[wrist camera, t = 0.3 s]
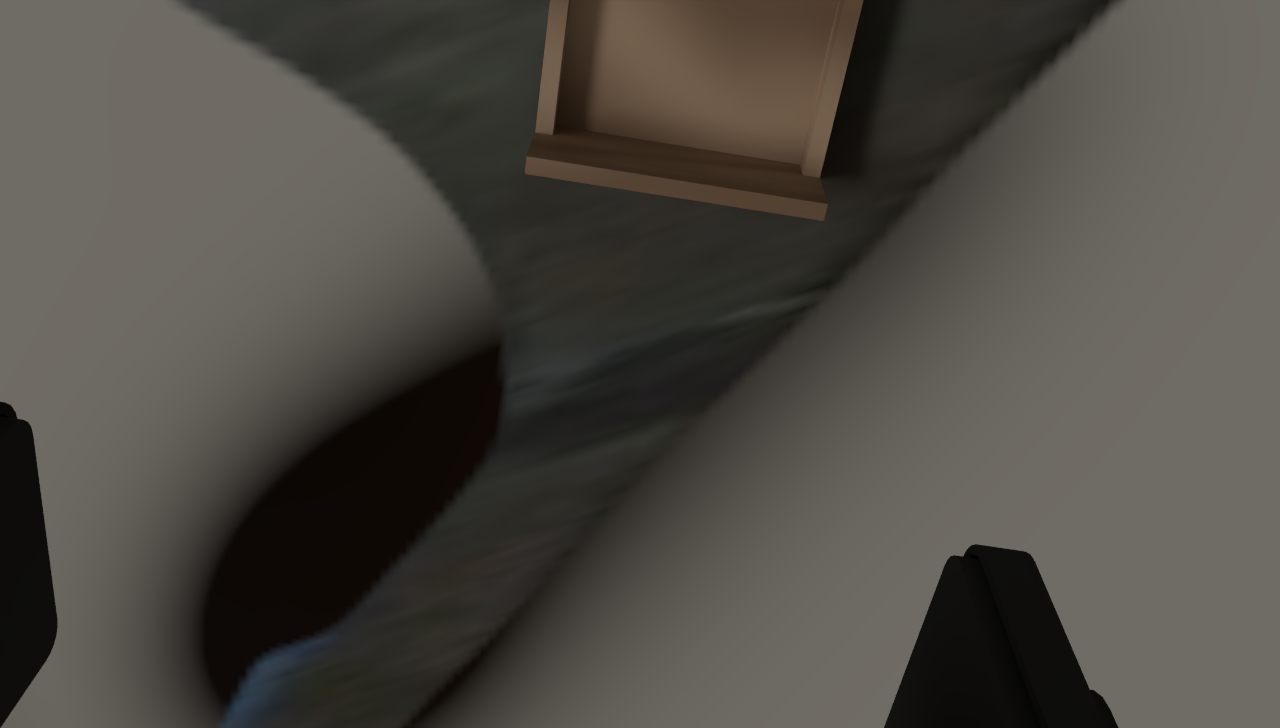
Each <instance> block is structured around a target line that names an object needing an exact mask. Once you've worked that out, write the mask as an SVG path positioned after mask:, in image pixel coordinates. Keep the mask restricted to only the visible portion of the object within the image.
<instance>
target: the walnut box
mask: <svg viewBox="0 0 1280 728" xmlns="http://www.w3.org/2000/svg"><path fill="white" fill-rule="evenodd" d="M862 4H863V0H550V6H549V15H548V24H547V33H546V42H545V51H544V60H543V68H542V77H541V86H540V95H539V104H538V113H537V122H536V131H535V135H534V137H533V140H532V143H531V146H530V149H529V151H528V154H527V158H526V168H525V174H530V175H536V176H542V177H549V178H555V179H561V180H568V181H574V182H580V183H587V184H593V185H599V186H606V187H612V188H618V189H625V190H631V191H637V192H644V193H650V194H656V195H663V196H669V197H675V198H682V199H688V200H694V201H701V202H707V203H713V204H720V205H726V206H732V207H739V208H745V209H751V210H758V211H764V212H770V213H777V214H783V215H789V216H796V217H802V218H808V219H815V220H821V221H824V218H825V214H826V210H827V206H828V202H827V199H826V196H825V193H824V190H823V187H822V183H821V180H820V175H821V171H822V167H823V163H824V159H825V155H826V151H827V147H828V143H829V138H830V134H831V130H832V126H833V122H834V118H835V114H836V110H837V106H838V102H839V98H840V94H841V90H842V86H843V82H844V78H845V73H846V69H847V65H848V61H849V57H850V53H851V49H852V45H853V41H854V37H855V33H856V29H857V25H858V21H859V17H860V13H861V9H862Z"/></svg>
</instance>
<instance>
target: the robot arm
mask: <svg viewBox="0 0 1280 728" xmlns="http://www.w3.org/2000/svg"><path fill="white" fill-rule="evenodd" d="M56 634H57V613H56V606H55V598H54V591H53V584H52V576H51V568H50V560H49V553H48V545H47V537H46V530H45V522H44V515H43V507H42V499H41V492H40V484H39V477H38V469H37V461H36V453H35V446H34V438H33V433H32V428H31V426H30V425H29V423H28V422H26V421H25V420H20V419H17V416H16V412H15V411H14V410H13V408H12V406H11V405H9V404H7V403H5V402H0V727H1V726H2V725H3V723H4V722H5V720H6V719H7V717H8V716H9V714H10V713H11V711H12V710H13V708H14V707H15V706H16V704H17V703H18V701H19V700H20V698H21V697H22V695H23V694H24V692H25V690H26V689H27V688H28V686H29V685H30V684H31V682H32V680H33V679H34V678H35V676H36V675H37V673H38V672H39V670H40V669H41V667H42V666H43V664H44V663H45V661H46V660H47V658H48V656H49V655H50V653H51V650H52V648H53V645H54V642H55V638H56ZM884 728H1118V726H1117V724H1116V722H1115V719H1114V717H1113V715H1112V712H1111V710H1110V708H1109V707H1108V705H1107V704H1106V702H1105V700H1104V699H1103V697H1102V696H1101V695H1099V694H1098V693H1097V692H1095V691H1094V690H1090V689H1089V687H1088V685H1087V682H1086V680H1085V678H1084V675H1083V673H1082V671H1081V668H1080V666H1079V664H1078V661H1077V659H1076V657H1075V654H1074V652H1073V650H1072V647H1071V645H1070V643H1069V640H1068V638H1067V636H1066V633H1065V631H1064V629H1063V626H1062V624H1061V622H1060V619H1059V617H1058V615H1057V612H1056V610H1055V608H1054V605H1053V603H1052V601H1051V598H1050V596H1049V594H1048V591H1047V589H1046V587H1045V584H1044V582H1043V580H1042V577H1041V575H1040V573H1039V570H1038V568H1037V566H1036V563H1035V561H1034V559H1033V558H1032V556H1031V555H1030V554H1029V553H1027V552H1024V551H1017V550H1010V549H1004V548H997V547H990V546H983V545H977V544H975V545H972V546H970V547H969V548H968V549H967V551H966V552H965V554H964V556H963V557H961V556H955V555H954V556H951V557H950V558H949V559H948V560H947V562H946V564H945V566H944V569H943V571H942V574H941V577H940V580H939V582H938V585H937V587H936V590H935V593H934V596H933V598H932V601H931V604H930V606H929V609H928V612H927V614H926V617H925V620H924V622H923V625H922V628H921V630H920V633H919V636H918V639H917V641H916V644H915V646H914V649H913V652H912V654H911V657H910V660H909V662H908V665H907V668H906V670H905V673H904V676H903V678H902V681H901V684H900V686H899V689H898V692H897V694H896V697H895V700H894V703H893V705H892V708H891V711H890V713H889V716H888V719H887V721H886V724H885V727H884Z"/></svg>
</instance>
